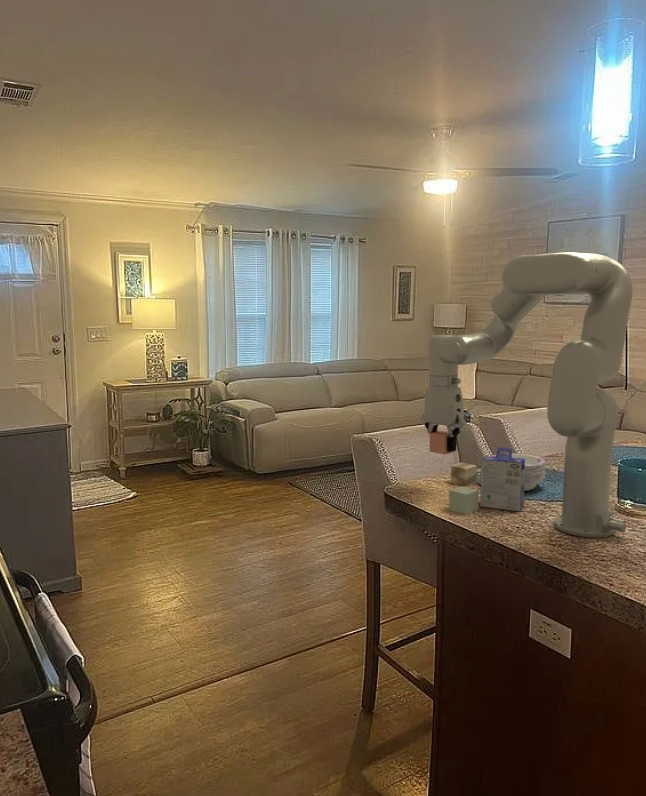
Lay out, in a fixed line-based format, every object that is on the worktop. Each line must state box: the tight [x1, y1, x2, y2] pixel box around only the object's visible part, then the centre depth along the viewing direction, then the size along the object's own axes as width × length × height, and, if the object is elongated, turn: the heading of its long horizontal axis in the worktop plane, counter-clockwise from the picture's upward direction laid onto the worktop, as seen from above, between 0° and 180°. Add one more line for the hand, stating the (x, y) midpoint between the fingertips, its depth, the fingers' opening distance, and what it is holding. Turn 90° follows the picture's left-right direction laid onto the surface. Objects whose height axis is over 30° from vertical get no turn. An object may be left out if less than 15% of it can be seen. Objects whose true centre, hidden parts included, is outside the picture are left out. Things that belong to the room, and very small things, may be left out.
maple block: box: [450, 462, 478, 487], centre depth 177 cm, size 5×5×5 cm
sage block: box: [448, 485, 480, 515], centre depth 154 cm, size 5×5×5 cm
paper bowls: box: [492, 453, 547, 492], centre depth 172 cm, size 15×15×8 cm
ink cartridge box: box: [479, 447, 525, 512], centre depth 156 cm, size 10×6×14 cm, turn 65°
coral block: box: [429, 430, 457, 455], centre depth 169 cm, size 5×5×5 cm
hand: (442, 448), depth 169 cm, fingers closed on coral block, 4 cm apart
